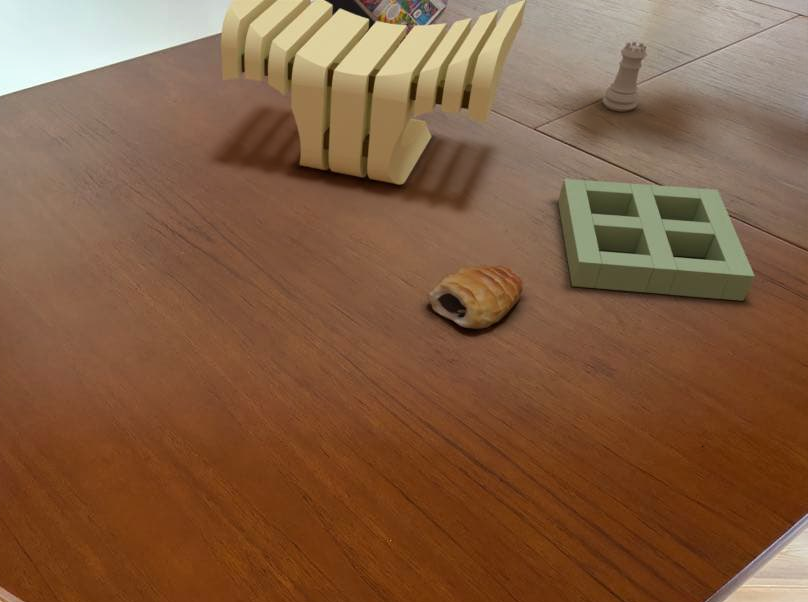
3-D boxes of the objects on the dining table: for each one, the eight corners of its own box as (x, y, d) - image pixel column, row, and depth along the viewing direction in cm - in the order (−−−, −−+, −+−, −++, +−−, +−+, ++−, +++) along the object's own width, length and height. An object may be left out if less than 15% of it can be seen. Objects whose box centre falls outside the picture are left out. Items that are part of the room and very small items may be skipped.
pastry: (485, 271, 88) (492, 240, 85) (538, 303, 84) (546, 271, 82) (421, 306, 84) (426, 274, 81) (473, 341, 80) (480, 309, 77)
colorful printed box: (432, -4, 133) (384, -112, 121) (501, 41, 117) (454, -77, 105) (325, 79, 136) (268, -18, 124) (379, 133, 121) (319, 29, 109)
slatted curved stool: (226, 162, 105) (219, 11, 93) (275, 109, 116) (275, -34, 103) (468, 210, 97) (496, 51, 84) (497, 148, 107) (526, -2, 95)
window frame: (708, 213, 96) (717, 189, 94) (743, 301, 84) (755, 276, 82) (557, 202, 98) (564, 178, 96) (571, 286, 86) (578, 261, 84)
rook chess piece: (599, 109, 115) (616, 49, 109) (603, 96, 118) (619, 36, 112) (634, 114, 114) (653, 54, 108) (637, 101, 117) (655, 41, 111)
